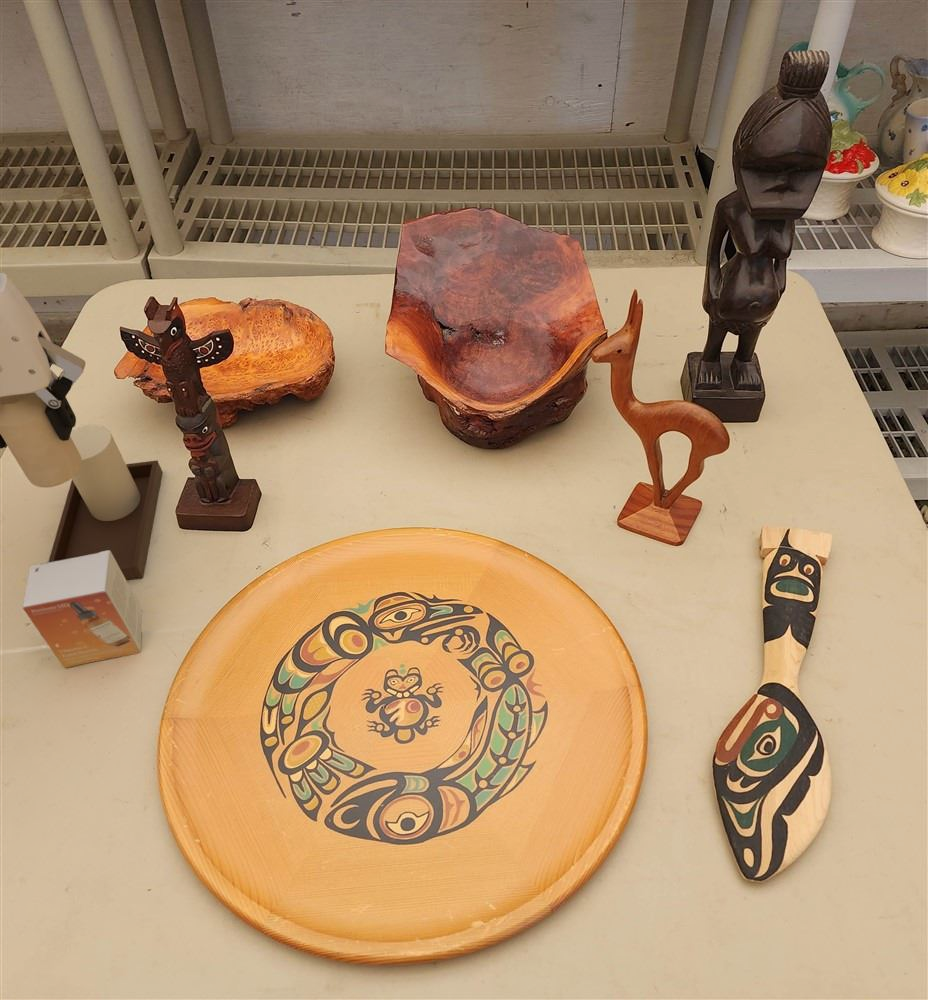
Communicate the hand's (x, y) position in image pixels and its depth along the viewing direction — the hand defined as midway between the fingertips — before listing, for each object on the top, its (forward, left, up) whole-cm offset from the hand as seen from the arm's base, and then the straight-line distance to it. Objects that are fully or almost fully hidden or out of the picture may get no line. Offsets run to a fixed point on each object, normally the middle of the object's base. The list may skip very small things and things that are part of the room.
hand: (35, 434), depth 85 cm
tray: (0, +4, -19) cm, 20 cm away
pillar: (0, +8, -18) cm, 20 cm away
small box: (+2, -12, -19) cm, 23 cm away
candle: (0, 0, -5) cm, 5 cm away
